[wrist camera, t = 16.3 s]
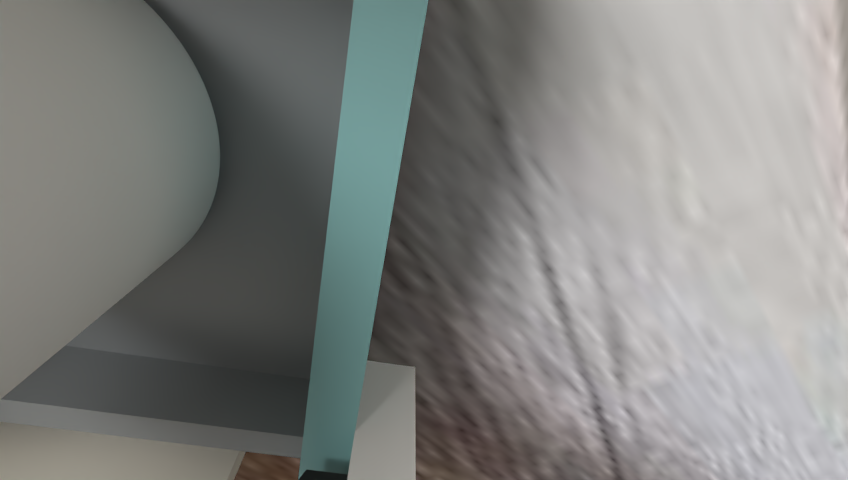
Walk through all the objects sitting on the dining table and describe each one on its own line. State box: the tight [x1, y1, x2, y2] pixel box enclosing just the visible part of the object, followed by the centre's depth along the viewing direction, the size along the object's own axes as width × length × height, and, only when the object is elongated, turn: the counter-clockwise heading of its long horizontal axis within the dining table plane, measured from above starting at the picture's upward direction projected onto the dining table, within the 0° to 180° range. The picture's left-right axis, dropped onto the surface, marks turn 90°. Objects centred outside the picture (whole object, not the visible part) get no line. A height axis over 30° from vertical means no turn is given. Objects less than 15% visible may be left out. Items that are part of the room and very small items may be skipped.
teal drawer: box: [0, 0, 428, 480], centre depth 11 cm, size 14×18×5 cm
